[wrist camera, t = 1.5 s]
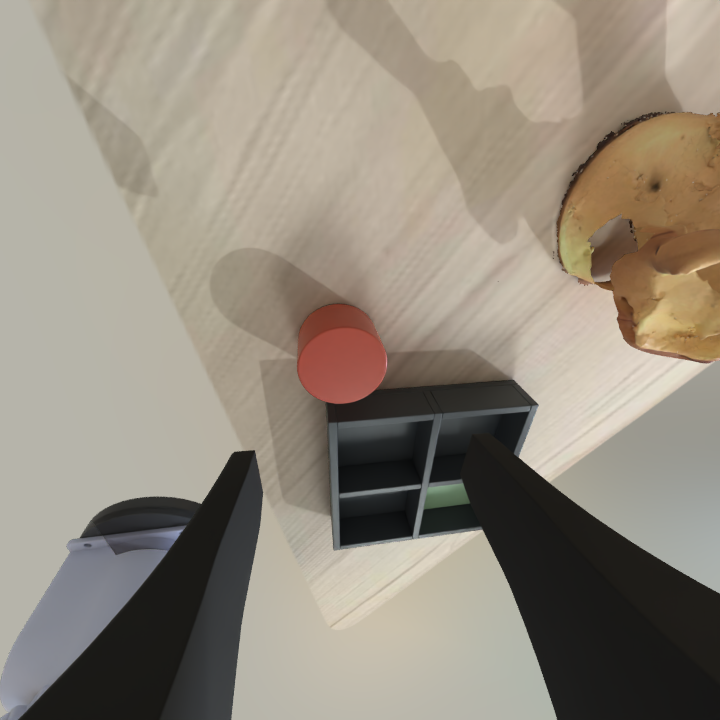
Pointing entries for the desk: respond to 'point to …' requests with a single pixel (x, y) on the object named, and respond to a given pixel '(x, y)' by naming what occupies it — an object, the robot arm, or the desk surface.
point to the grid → (414, 458)
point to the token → (340, 354)
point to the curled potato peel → (655, 230)
